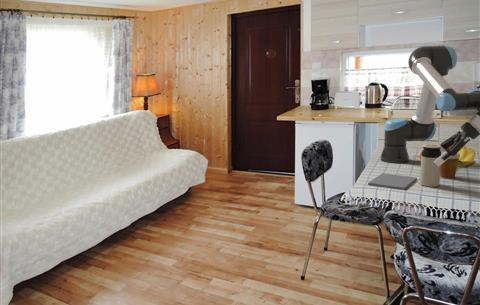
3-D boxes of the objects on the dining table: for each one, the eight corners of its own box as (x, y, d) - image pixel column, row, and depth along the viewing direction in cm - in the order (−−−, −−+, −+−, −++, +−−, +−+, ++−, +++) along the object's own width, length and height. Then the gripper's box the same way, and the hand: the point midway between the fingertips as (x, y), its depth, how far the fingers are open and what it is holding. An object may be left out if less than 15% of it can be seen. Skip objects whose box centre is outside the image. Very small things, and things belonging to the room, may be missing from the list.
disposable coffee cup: (445, 180, 194) (447, 155, 192) (432, 175, 203) (433, 151, 201) (463, 178, 196) (465, 153, 194) (449, 173, 205) (451, 149, 203)
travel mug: (442, 187, 184) (445, 146, 180) (424, 187, 184) (426, 147, 181) (434, 182, 192) (437, 143, 188) (416, 182, 192) (419, 143, 188)
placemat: (382, 175, 206) (382, 173, 206) (416, 179, 197) (416, 177, 197) (367, 184, 190) (368, 182, 190) (404, 190, 181) (404, 187, 181)
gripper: (488, 138, 166) (444, 173, 173) (473, 129, 189) (435, 160, 196) (475, 125, 166) (431, 160, 173) (461, 117, 189) (423, 149, 197)
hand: (433, 160), depth 185 cm, fingers open, 13 cm apart
